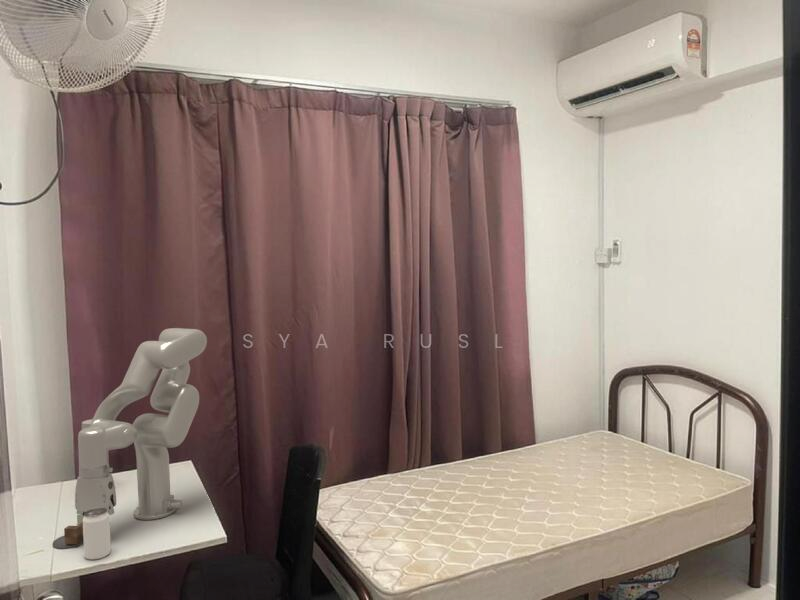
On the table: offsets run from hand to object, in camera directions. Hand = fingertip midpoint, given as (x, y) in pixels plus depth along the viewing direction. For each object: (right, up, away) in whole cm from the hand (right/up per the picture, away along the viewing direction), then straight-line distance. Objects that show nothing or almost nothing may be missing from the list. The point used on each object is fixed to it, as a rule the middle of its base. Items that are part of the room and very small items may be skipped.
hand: (96, 534), depth 174 cm
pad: (-7, -2, 0) cm, 8 cm away
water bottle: (-20, 0, +37) cm, 42 cm away
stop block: (-9, -1, +12) cm, 15 cm away
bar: (-5, -1, +2) cm, 5 cm away
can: (+4, -3, -8) cm, 10 cm away
